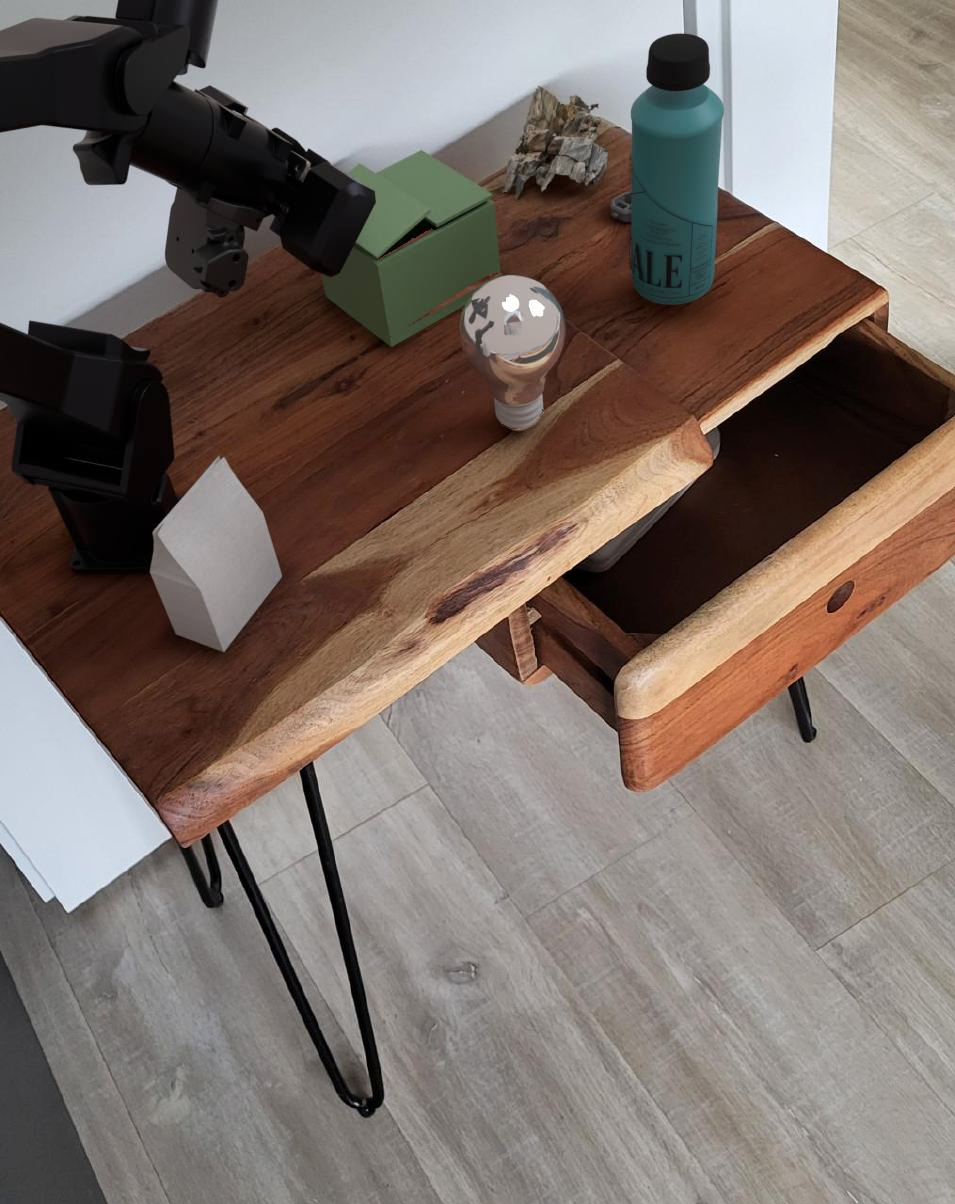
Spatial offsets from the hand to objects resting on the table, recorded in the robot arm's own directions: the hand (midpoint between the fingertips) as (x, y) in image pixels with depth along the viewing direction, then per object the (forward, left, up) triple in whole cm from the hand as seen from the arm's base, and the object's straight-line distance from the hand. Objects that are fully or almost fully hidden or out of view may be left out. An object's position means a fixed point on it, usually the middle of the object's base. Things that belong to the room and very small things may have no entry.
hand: (351, 217), depth 96 cm
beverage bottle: (+23, +1, -9) cm, 25 cm away
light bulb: (+12, -13, -9) cm, 20 cm away
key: (+22, +16, -8) cm, 28 cm away
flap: (+1, +1, 0) cm, 1 cm away
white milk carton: (-6, -29, -9) cm, 31 cm away
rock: (+18, +20, -9) cm, 28 cm away
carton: (+3, +3, -9) cm, 10 cm away
